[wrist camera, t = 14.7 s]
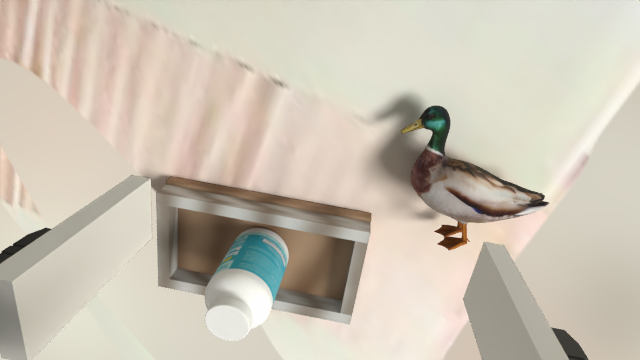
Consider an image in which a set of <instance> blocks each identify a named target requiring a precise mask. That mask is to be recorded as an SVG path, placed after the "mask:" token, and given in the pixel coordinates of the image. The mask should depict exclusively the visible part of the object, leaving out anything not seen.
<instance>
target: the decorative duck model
mask: <svg viewBox="0 0 640 360" xmlns="http://www.w3.org/2000/svg"><path fill="white" fill-rule="evenodd" d="M421 128H425V129H429V130H432V132H433V135H432V137H431V140H430V141H429V143H428V145H427V147H426V148H425V150H424V151H423V153H422V154H421V155H420V157H419V158H418V159H417V161H416V163H415V164H414V166H413V168H412V171H411V183H412V185H413V188H414V189H415V191H416V192H417V194H418V195H419V196H420V197H421V198H422V200H423V201H424V202H425V203H426V204H427V205H428V206H429V207H431V208H432V209H433V210H435V211H437V212H439V213H442V214H444V215H447V216H449V217H451V218H453V219H455V220H457V221H458V225H457V227H456V226H450V225H442V227H441V228H440V229H438V230H436V231H434V232H437V233H439V234H442V235H443V236H444V240H442V241H441V242H440V243H438V245H442V246H444V247H446V248H447V249H449V250H452V249H455V248H457V247H459V246H462V245H465V244H467V240H468V239H467V227H466V226H467V223H468V222H475V223H485V222H494V221H499V220H505V219H511V218H516V217H520V216H523V215H527V214H531V213H534V212H536V211H538V210H540V209H542V208H544V207H545V206H547V205H548V204H549V202H544V201H543V199H544V197H545V195H542V193H538V192H534V191H531V190H528V189H525V188H522V187H520V186H518V185H515V184H513V183H510V182H507V181H504V180H501V179H499V178H498V177H496V176H494V175H493V174H491V173H489V172H487V171H486V170H484V169H482V168H480V167H478V166H476V165H473V164H471V163H468V162H465V161H461V160H456V159H450V158H447V157H446V156H445V152H444V148H445V143H446V139H447V136H448V132H449V129H450V117H449V114H448V112H447V110H446V109H445V108H443V107H441V106H431V107H429V108H427V109H426V110H425V111H424V112H423V114H422V115H421V117H420V118H419V119H418V120H417V121H416V122H415V123H413V124H411V125H410V126H408V127H406V128H404V129H403V130H401V133H402V134H403V133H407V132H410V131H413V130H416V129H421ZM459 232H462V238H455V237H446V236H450V235H453V234H456V233H459ZM468 241H469V240H468ZM469 242H470V241H469Z"/></svg>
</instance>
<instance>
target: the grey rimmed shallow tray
mask: <svg viewBox="0 0 640 360" xmlns="http://www.w3.org/2000/svg"><path fill="white" fill-rule="evenodd" d="M156 203H157V246H158V285H159V286H161V287H166V288H171V289H176V290H181V291H186V292H191V293H196V294H201V295H205V291H206V287H207V285H208V283H209V281H210V280H211V278H212V276H213V275H214V273H215V272H216V270H217V269H218V267H219V265H220V264H221V262H222V261H223V259H224V257H225V256H226V254H227V252H228V251H229V249H230V248H231V246H232V244H233V243H234V241H235V240H236V238H237V237H238V236H239V235H240V234H241V233H242V232H244V231H246V230H248V229H251V228H264V229H268V230H271V231H273V232H274V233H276V234H277V235H279V236H280V237H281V238H282V239H283V241H284V242H285V244H286V246H287V248H288V253H289V259H288V263H287V266H286V269H285V272H284V275H283V278H282V280H281V283H280V286H279V289H278V292H277V294H276V297H275V300H274V303H273V306H272V308H271V309H275V310H280V311H285V312H290V313H295V314H300V315H305V316H310V317H315V318H320V319H325V320H330V321H335V322H340V323H345V324H350V321H351V317H352V312H353V308H354V303H355V299H356V294H357V290H358V285H359V281H360V276H361V272H362V267H363V263H364V258H365V254H366V250H367V245H368V241H369V236H370V222H371V213H367V212H362V211H357V210H351V209H346V208H340V207H335V206H329V205H324V204H319V203H313V202H308V201H302V200H297V199H291V198H286V197H281V196H275V195H270V194H264V193H259V192H254V191H248V190H243V189H237V188H232V187H226V186H221V185H216V184H210V183H205V182H199V181H194V180H188V179H183V178H178V177H172V176H171V177H170V178H169V179H168V180H167V181H166V185H165V186H164V187H162V188H161V189H160V190H159V191H158V192H156Z"/></svg>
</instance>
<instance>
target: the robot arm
mask: <svg viewBox="0 0 640 360" xmlns="http://www.w3.org/2000/svg"><path fill="white" fill-rule="evenodd" d="M151 212H152V211H151V178H146V177H140V176H135V175H131V176H130V177H128V178H127V179H125V180H124V181H122V182H121V183H120V184H118V185H116V186H115V187H114V188H112V189H111V190H109V191H108V192H106V193H105V194H103V195H102V196H100V197H99V198H97V199H96V200H94V201H93V202H91V203H90V204H88V205H87V206H85V207H84V208H83V209H81V210H80V211H78V212H76V213H75V214H73V215H72V216H70V217H69V218H67V219H66V220H65V221H63V222H62V223H60V224H59V225H57V226H56V227H54V228H53V229H49V228H44V229H42V230H39V231H36V232H34V233H31V234H28V235H26V236H25V237H23V238H22V239H20V240H19V241H17V242H15V243H14V244H13V246H9V247H8V248H6V249H5V250H3V251H2V253H1V254H0V353H1V357H2V358H4V359H9V360H32V359H33V358H34V357H35V356H36V355H37V354H38V353H39V352H40V351H41V350H42V349H43V348H44V347H45V346H46V345H47V344H48V343H49V342H50V341H51V340H52V339H53V338H54V337H55V336H56V335H57V334H58V333H59V332H60V331H61V330H62V329H63V328H64V327H65V326H66V325H67V324H68V323H69V322H70V321H71V320H72V319H73V318H74V317H75V316H76V315H77V314H78V313H79V312H80V311H81V310H82V309H83V308H84V307H85V305H86V304H87V303H88V302H89V301H90V300H91V299H92V298H93V297H94V296H95V295H96V294H97V293H98V292H99V291H100V290H101V289H102V288H103V287H104V286H105V285H106V284H107V283H108V282H109V281H110V280H111V279H112V278H113V277H114V276H115V275H116V274H117V273H118V272H119V271H120V270H121V269H122V268H123V267H124V266H125V265H126V264H127V263H128V262H129V261H130V260H131V259H132V258H133V256H135V255H136V254H137V253H138V252H139V251H140V250H141V248H142V247H143V246H144V245H145V244H146V243H147V242H148V241H149V240H150V239H151V238H152V213H151ZM463 300H464V304H465V307H466V310H467V313H468V316H469V320H470V323H471V326H472V329H473V332H474V335H475V339H476V342H477V345H478V348H479V351H480V354H481V357H482V360H588V358H587V356H586V355H585V353H584V351H583V350H582V348H581V347H580V345H579V344H578V343H577V342H576V341H575V340H574V339H573V338H572V337H571V336H570V335H569V334H568V333H567V332H566V331H564V330H561V329H556V328H551V327H550V325H549V323H548V321H547V320H546V318H545V316H544V314H543V313H542V311H541V309H540V307H539V306H538V304H537V302H536V300H535V298H534V297H533V295H532V293H531V292H530V290H529V288H528V286H527V284H526V283H525V281H524V279H523V277H522V276H521V274H520V272H519V270H518V268H517V267H516V265H515V263H514V261H513V260H512V258H511V256H510V254H509V252H508V251H507V249H506V247H505V246H504V245H499V244H494V243H488V242H484V244H483V246H482V249H481V252H480V254H479V257H478V260H477V263H476V265H475V268H474V271H473V274H472V276H471V279H470V282H469V284H468V287H467V290H466V293H465V295H464V298H463Z"/></svg>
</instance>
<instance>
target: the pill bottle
mask: <svg viewBox="0 0 640 360" xmlns="http://www.w3.org/2000/svg"><path fill="white" fill-rule="evenodd" d="M288 259H289V253H288V248H287V246H286V244H285V242H284V241H283V239H282V238H281V237H280V236H279V235H277V234H276V233H274V232H273V231H271V230H268V229H264V228H251V229H248V230H246V231H244V232H242V233H241V234H240V235H239V236H238V237H237V238H236V240H235V241H234V243H233V244H232V246H231V248H230V249H229V251H228V252H227V254H226V256H225V257H224V259H223V261H222V262H221V264H220V265H219V267H218V269H217V270H216V272H215V273H214V275H213V276H212V278H211V280H210V281H209V283H208V285H207V287H206V291H205V303H206V307H207V309H208V311H207V313H206V315H205V323H206V326H207V328H208V329H209V331H210V332H211V333H212V334H214V335H215V336H217V337H218V338H220V339H223V340H227V341H237V340H240V339H242V338H244V337H245V336H246V335H247V334H248V332H249V330H250V329H252V328H255V327H257V326H259V325H260V324H262V323H263V322H264V321H265V320H266V318H267V317H268V316H269V314H270V311H271V308H272V306H273V303H274V300H275V297H276V294H277V292H278V289H279V286H280V283H281V280H282V278H283V275H284V272H285V269H286V266H287V263H288Z"/></svg>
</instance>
